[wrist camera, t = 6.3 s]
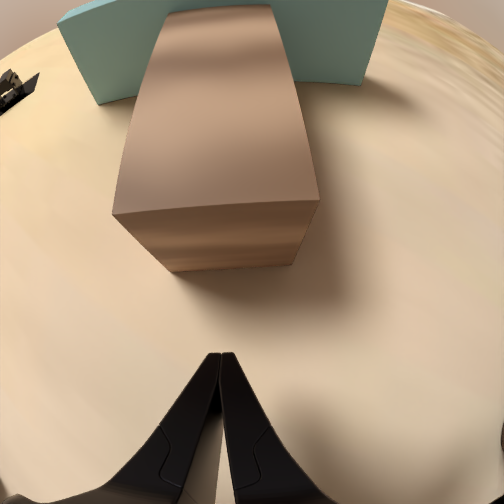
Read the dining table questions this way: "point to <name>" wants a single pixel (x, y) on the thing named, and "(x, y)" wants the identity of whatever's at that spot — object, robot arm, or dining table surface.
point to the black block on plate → (14, 89)
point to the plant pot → (503, 438)
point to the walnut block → (217, 146)
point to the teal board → (161, 3)
